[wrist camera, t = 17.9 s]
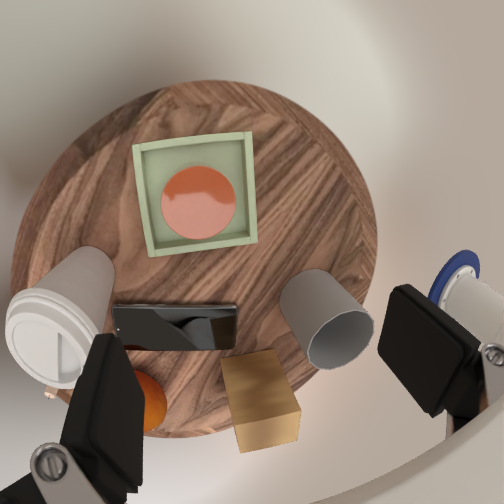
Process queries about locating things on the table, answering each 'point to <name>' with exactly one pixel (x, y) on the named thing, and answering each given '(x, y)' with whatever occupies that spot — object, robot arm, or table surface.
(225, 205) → the orange cylinder puck
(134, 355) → the table surface
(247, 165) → the tray
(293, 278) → the cup
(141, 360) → the table surface
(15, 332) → the coffee cup
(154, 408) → the fruit
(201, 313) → the smartphone
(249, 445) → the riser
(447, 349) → the robot arm
